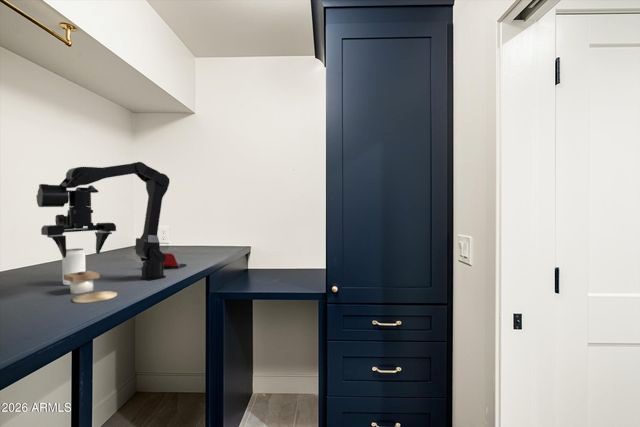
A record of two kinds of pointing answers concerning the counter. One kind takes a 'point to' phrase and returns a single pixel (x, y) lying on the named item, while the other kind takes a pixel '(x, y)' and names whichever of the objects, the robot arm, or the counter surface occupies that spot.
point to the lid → (81, 276)
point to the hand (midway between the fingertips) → (81, 255)
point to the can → (73, 262)
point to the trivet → (94, 297)
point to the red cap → (171, 262)
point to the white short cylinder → (81, 286)
